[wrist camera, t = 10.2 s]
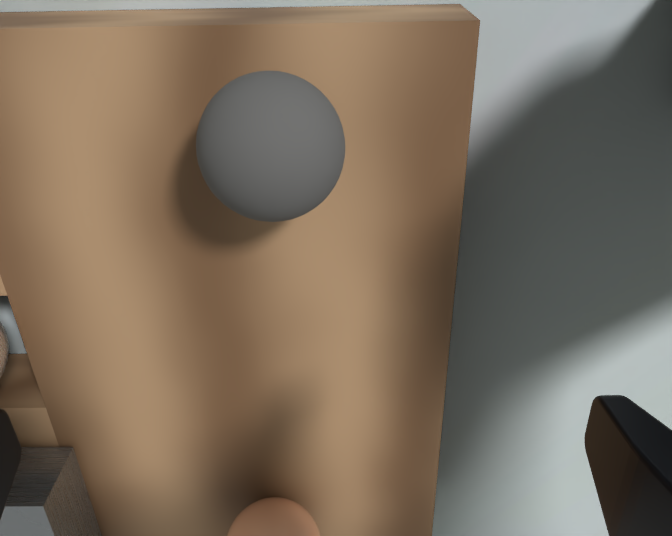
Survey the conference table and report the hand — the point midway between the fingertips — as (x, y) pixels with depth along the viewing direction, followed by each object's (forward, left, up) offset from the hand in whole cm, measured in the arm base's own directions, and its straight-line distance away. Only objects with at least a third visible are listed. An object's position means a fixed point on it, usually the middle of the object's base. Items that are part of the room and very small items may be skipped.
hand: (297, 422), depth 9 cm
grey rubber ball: (+1, -2, -7) cm, 7 cm away
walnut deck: (+7, +5, -12) cm, 15 cm away
